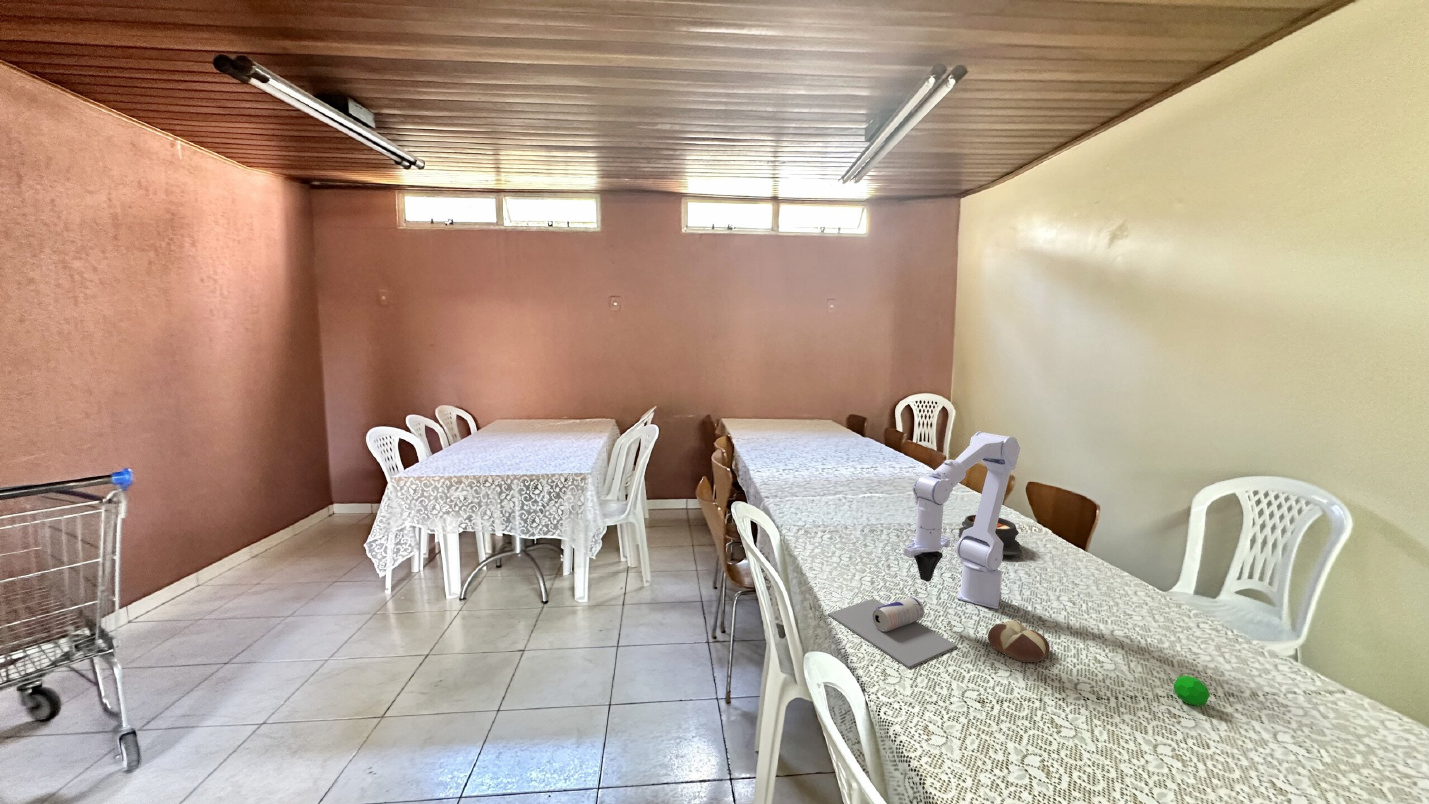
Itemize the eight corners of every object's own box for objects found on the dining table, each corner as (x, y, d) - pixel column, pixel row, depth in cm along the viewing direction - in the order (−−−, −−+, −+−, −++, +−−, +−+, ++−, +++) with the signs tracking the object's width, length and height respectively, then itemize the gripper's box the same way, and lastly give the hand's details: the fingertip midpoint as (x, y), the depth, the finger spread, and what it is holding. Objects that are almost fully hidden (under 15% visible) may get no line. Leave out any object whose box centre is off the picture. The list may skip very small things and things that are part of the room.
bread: (978, 641, 117) (980, 621, 116) (1013, 631, 121) (1015, 611, 121) (1024, 670, 107) (1026, 648, 106) (1060, 658, 111) (1063, 636, 111)
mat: (873, 600, 135) (873, 598, 135) (957, 647, 114) (957, 645, 114) (827, 615, 127) (827, 613, 127) (908, 668, 106) (908, 666, 106)
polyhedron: (1214, 708, 96) (1217, 685, 96) (1196, 713, 95) (1199, 689, 94) (1183, 691, 101) (1186, 668, 100) (1165, 695, 99) (1168, 672, 99)
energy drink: (905, 594, 127) (870, 606, 122) (923, 598, 123) (887, 610, 117) (908, 617, 127) (873, 629, 121) (926, 621, 122) (891, 634, 116)
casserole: (945, 531, 187) (947, 508, 186) (998, 533, 186) (1000, 510, 185) (976, 559, 162) (978, 533, 162) (1037, 562, 162) (1039, 536, 161)
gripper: (933, 516, 132) (930, 567, 133) (895, 525, 124) (891, 579, 126) (959, 524, 126) (955, 578, 127) (919, 535, 118) (916, 591, 120)
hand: (925, 579), depth 126 cm, fingers closed
